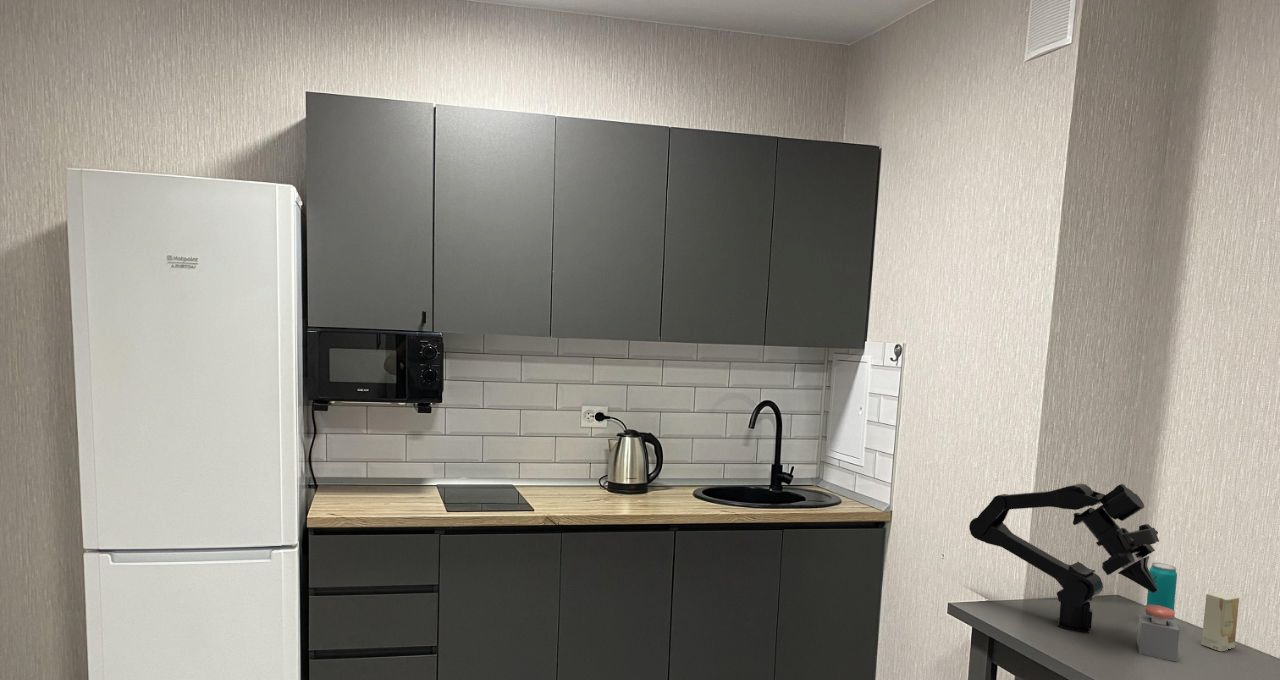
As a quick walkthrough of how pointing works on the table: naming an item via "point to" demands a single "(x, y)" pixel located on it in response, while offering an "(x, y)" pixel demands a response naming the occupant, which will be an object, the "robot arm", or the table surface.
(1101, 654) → the table surface
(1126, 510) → the robot arm
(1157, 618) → the red plunger
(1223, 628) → the skincare box
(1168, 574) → the beverage can
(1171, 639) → the button housing
